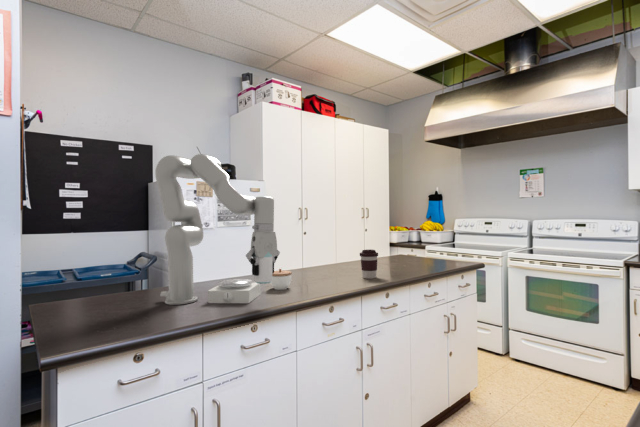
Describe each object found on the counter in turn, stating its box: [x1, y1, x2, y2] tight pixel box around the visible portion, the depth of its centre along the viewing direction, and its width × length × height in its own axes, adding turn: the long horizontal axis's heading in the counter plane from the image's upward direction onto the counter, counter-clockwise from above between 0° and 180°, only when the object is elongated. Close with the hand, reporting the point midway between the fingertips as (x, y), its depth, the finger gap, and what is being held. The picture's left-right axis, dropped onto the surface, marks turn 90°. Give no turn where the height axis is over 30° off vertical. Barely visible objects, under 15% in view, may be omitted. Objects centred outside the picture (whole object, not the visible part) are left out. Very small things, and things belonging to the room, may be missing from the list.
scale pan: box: [217, 278, 253, 288], centre depth 149 cm, size 14×14×1 cm
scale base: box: [207, 282, 262, 304], centre depth 148 cm, size 17×18×5 cm
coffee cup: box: [359, 249, 379, 280], centre depth 190 cm, size 10×10×15 cm
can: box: [253, 252, 273, 285], centre depth 136 cm, size 7×7×12 cm
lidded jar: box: [269, 268, 293, 291], centre depth 167 cm, size 11×11×9 cm
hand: (263, 273), depth 136 cm, fingers closed on can, 7 cm apart
